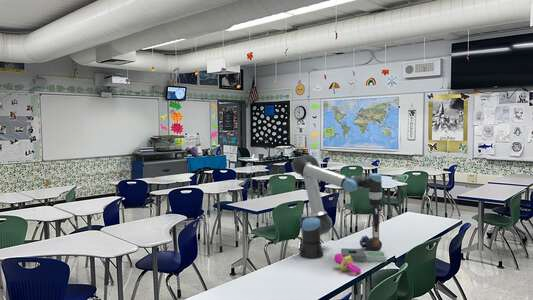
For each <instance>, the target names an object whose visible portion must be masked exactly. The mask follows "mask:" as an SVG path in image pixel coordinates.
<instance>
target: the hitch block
mask: <svg viewBox="0 0 533 300" xmlns="http://www.w3.org/2000/svg"><path fill="white" fill-rule="evenodd" d="M340 254H342V255H343V257H346V256H349V255H350V256H351V257H352V260H353V262H352V263H365V262H366V258H365V250H364V248H346V247H345V248H340Z"/></svg>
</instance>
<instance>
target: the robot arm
mask: <svg viewBox="0 0 533 300" xmlns="http://www.w3.org/2000/svg"><path fill="white" fill-rule="evenodd" d="M291 168H292V170H293V171H294V173H296V174H298V175H300V177H301V178H303V180H304V185H305V191H306V194H307V199H308V204H309V208H310V212H311V214H310V215H309V217H306V218H304V219H303V220H302V222H301V238H302V239H301V240H302V241H301V247H300V248H299V255H300V257H302V258H304V259H310V260H311V259H313V260H314V259H319V258H322V257H323V256H324V251H323V248H322V244H321V236H323V235H324V234H327V233H329V232H330V230H331V229H332V227H333V221H332V218H331V217H330V216H329V215H328V212H327V211H326V210H325V208H324V205H323V199H322V195H321V192H320V187H319V182H318V181H321V182H325V183H327V184H329V185H330V184H331V185H332V186H336V187H339V188H340V189H343V190H344V191H345V192H347V193H351V192H354V191H357V190H359V189H368V198H369V199H368V204H369V205H370V206H372V207H371V212H372V221H374V226H373V227H374V237H378V227H379V228H380V224H379V222H380V220H379V217H380V216H379V215H380V213H379V212H380V208H379V206H382V204H383V201H382V198H383V197H382V195H383V193H382V187H383V186H382V184H383V183H382V182H383V181H382V175H381V174H380V173H377V172H376V173H375V172H374V173H373V172H372V173H369V174H368V176H364V175H352V176H350V177H349V176H346V175H344V174H340V173H337V172H334V171H332V170H329V169H327V168H326V169H325V168H323V167H320V166H319V160H318V158H317V157H316V156H314V155H311V154H305V155H301V156H300V155H299V156H296V157H294V158H293V159H292V161H291Z"/></svg>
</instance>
